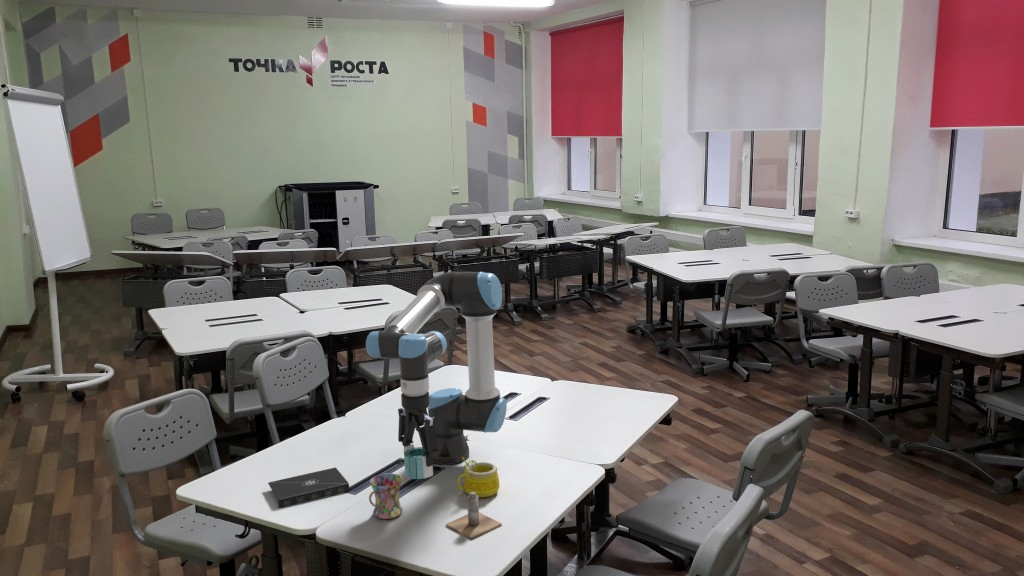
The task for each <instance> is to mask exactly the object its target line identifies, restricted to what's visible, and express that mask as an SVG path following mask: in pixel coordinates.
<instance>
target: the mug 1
mask: <svg viewBox="0 0 1024 576" xmlns="http://www.w3.org/2000/svg"><path fill="white" fill-rule="evenodd" d="M402 482H403V477H402V476H401V475H400V474H398V473H393V472H391V473H387V472H385V473H380V474H377V475H375V476H373V477H372V478H371V479H369V484H370V486H371V488H372V491H371V492H370V494H369V496H368V501H369V503H370V505H371V506H373V507H374V509H373V512H372V514H373V515H374V517H376V518H379V519H384V520H389V519H393V518H396V517H398V516H400V515H401V514H402V513H403V511H404V510H403V506H402V505H401V502H400V488H401V484H402ZM373 494H374V499H375V502H374V503H375V504H374V503H373V501H372V497H373Z"/></svg>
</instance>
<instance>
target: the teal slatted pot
mask: <svg viewBox="0 0 1024 576" xmlns="http://www.w3.org/2000/svg"><path fill="white" fill-rule="evenodd" d="M427 451H428V450H427ZM423 454H424V451H423V448H422V446H417V447H414V448H411V449H408V450H406V451H405V452H404V451H403V462H404V474H405V478H408V479H412V480H421V479H422V480H423V479H424V478H423V461H422V455H423Z"/></svg>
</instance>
